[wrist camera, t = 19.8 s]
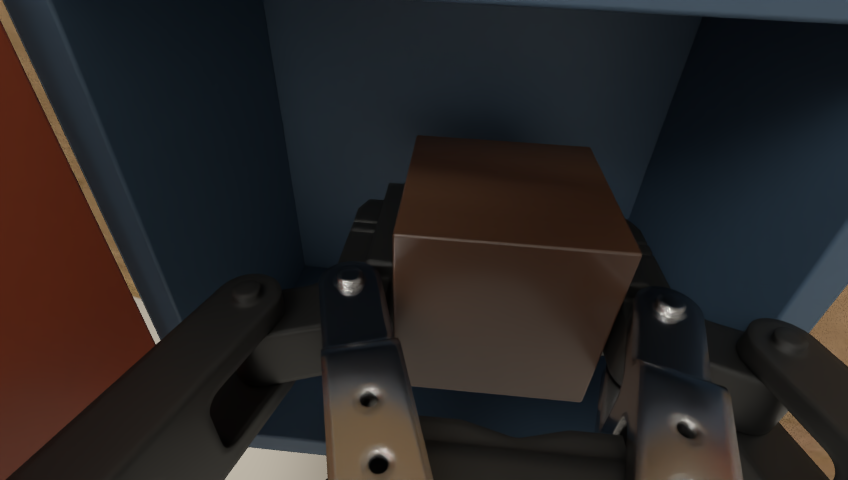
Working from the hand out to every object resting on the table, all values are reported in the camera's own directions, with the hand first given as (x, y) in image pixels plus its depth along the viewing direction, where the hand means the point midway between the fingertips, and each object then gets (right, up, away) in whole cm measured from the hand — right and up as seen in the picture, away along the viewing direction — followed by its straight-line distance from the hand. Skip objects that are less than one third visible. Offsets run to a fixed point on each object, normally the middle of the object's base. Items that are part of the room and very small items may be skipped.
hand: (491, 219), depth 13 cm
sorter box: (0, +3, +4) cm, 5 cm away
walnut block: (0, 0, 0) cm, 0 cm away
